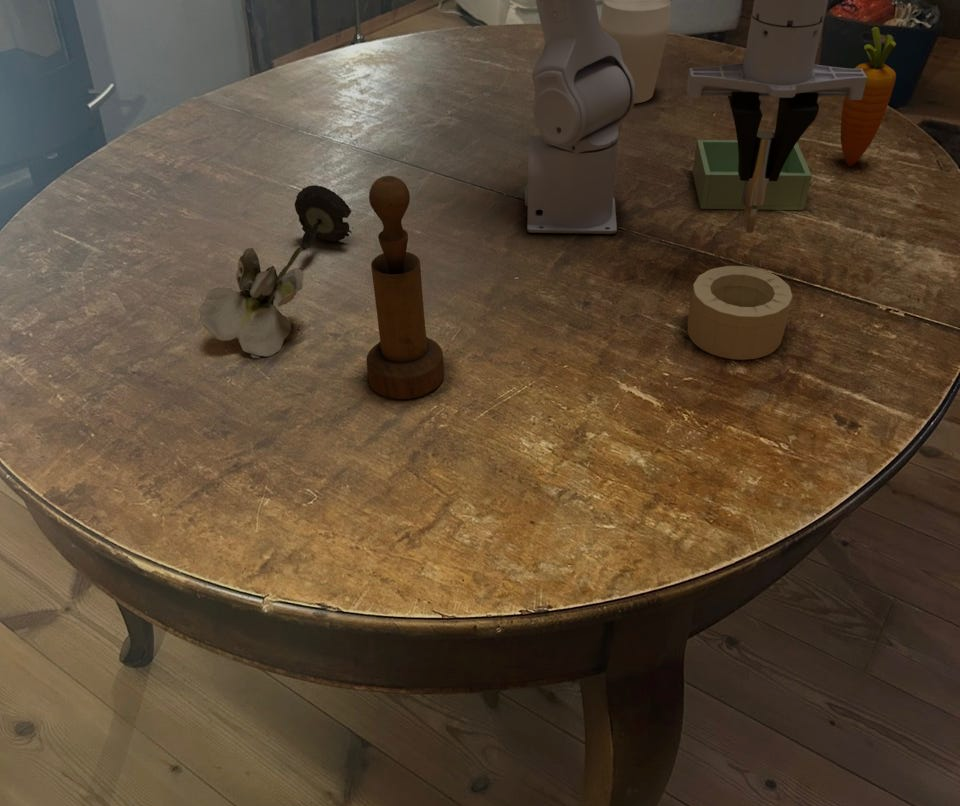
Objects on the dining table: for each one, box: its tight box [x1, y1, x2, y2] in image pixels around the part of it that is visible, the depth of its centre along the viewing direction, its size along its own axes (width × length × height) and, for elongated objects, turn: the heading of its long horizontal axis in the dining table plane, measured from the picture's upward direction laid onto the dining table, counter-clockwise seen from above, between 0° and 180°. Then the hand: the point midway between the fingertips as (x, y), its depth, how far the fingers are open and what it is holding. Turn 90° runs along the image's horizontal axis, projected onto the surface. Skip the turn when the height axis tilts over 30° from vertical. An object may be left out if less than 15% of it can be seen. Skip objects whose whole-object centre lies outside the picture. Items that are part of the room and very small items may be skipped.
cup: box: [599, 0, 672, 105], centre depth 123 cm, size 9×9×12 cm
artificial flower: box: [198, 185, 354, 359], centre depth 88 cm, size 9×22×10 cm, turn 160°
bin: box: [692, 139, 813, 211], centre depth 104 cm, size 11×9×4 cm
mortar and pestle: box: [366, 175, 445, 400], centre depth 74 cm, size 7×6×18 cm
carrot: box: [840, 26, 897, 167], centre depth 104 cm, size 5×5×15 cm
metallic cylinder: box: [742, 129, 777, 234], centre depth 85 cm, size 2×3×9 cm
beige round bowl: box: [686, 265, 794, 361], centre depth 83 cm, size 8×8×4 cm
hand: (757, 176), depth 84 cm, fingers closed on metallic cylinder, 2 cm apart
